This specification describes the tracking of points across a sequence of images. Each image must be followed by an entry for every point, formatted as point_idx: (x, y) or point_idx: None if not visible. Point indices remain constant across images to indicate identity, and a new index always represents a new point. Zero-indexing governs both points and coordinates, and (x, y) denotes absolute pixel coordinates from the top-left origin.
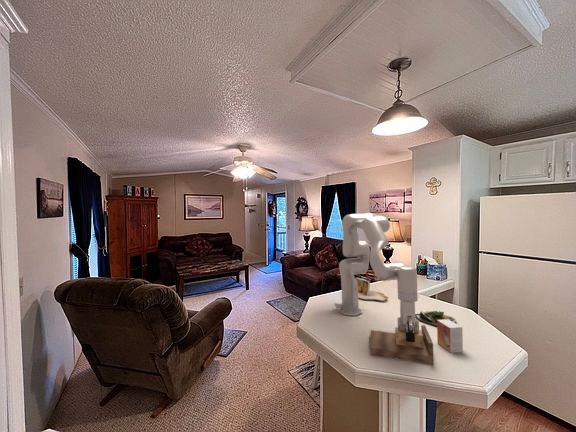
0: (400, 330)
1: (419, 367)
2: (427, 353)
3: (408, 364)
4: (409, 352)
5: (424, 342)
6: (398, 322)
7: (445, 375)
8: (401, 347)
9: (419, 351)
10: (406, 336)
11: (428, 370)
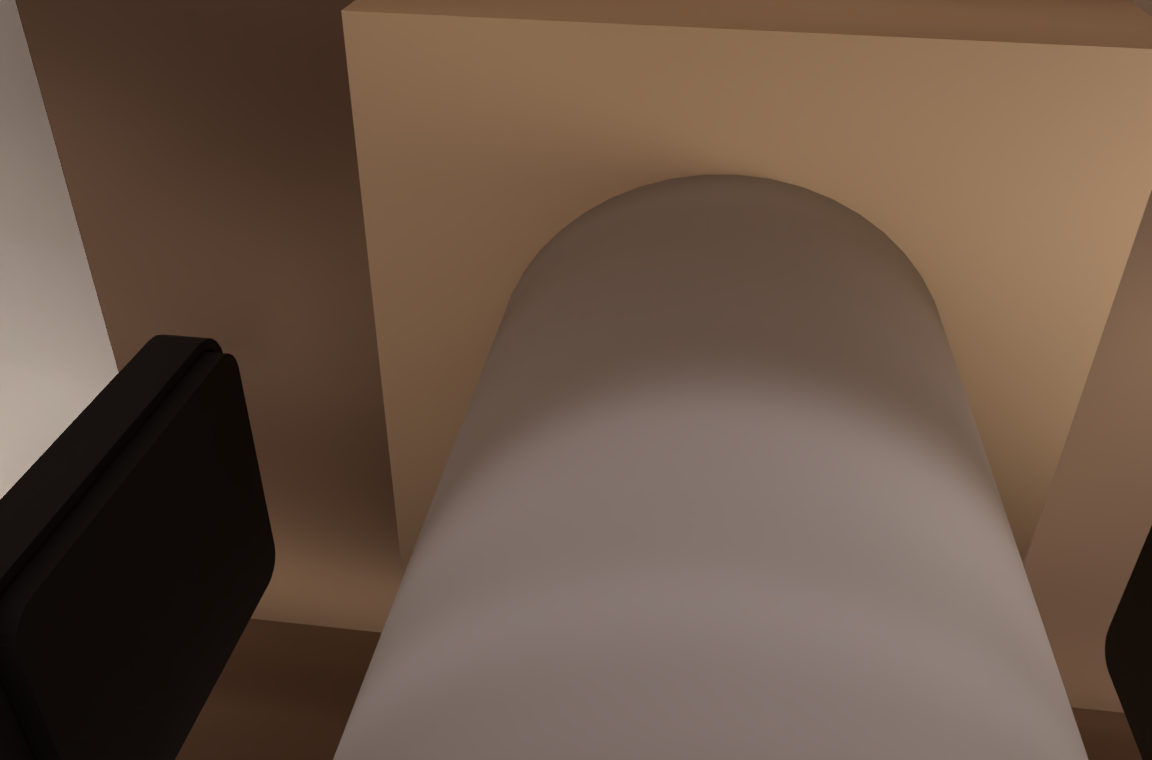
0: (507, 330)
1: (29, 304)
2: (278, 613)
3: (14, 101)
4: (120, 248)
5: None
6: (487, 616)
7: None
8: (327, 58)
9: (301, 488)
10: (58, 464)
11: (20, 430)
